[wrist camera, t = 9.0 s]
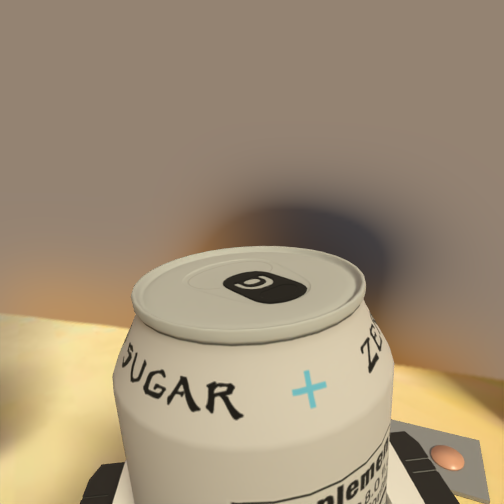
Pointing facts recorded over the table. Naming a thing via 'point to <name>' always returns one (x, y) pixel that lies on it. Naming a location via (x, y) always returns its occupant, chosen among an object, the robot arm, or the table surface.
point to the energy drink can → (255, 382)
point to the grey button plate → (452, 459)
